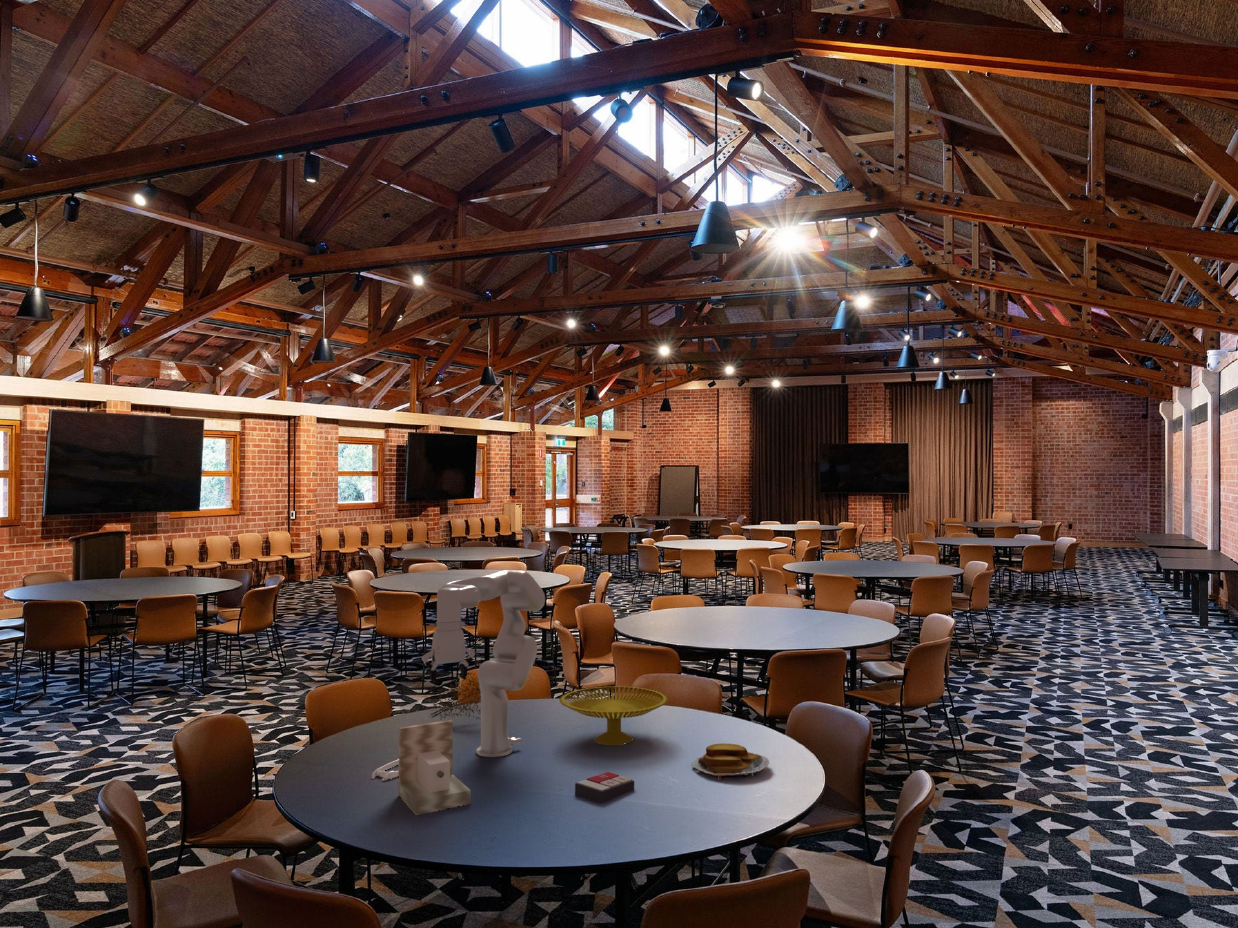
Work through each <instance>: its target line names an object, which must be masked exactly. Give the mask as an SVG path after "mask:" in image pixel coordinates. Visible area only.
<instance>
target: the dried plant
mask: <svg viewBox="0 0 1238 928" xmlns="http://www.w3.org/2000/svg"><path fill="white" fill-rule="evenodd" d="M479 658H480V660H479V659H478V658H477V659H476V660H477V661H475V663H476V666H475V668H474V669H473V670H476V668H477V667H478V666H480V663H481V661H482V660H481V659H483V656H480V657H479ZM476 672H477V671H476ZM476 672H474V673H473V671H469V672H468V671H467V676H470V679H469V678H468V677H466V679H465V680H467V681H468V682H469V683H468V682H465V684H463V682H464V681H465V680H464V679H459V678H458V677H457V681H458V683H457V682H455V685H453V683H452V682H453V681H452V680H451V681H450V682H449V683H450V684H449V687H448V685H446V686H447V690H446V691H445V692H444V691H442V693H441V692H439V693H438V700H437V701H438V702H437V703H432V705H433V706H431V707H429V708H428V709H430V710H428V711H431V712H432V711H434V710H435V711H434V712H432V713H430V714H429V718H435V717H437V716H438V718H439V720H440V721H442V719H444V720H446V717H447V716H448V717H450V718H451V717H452V718H453V717H454V716H455V715H456V716H457V717H458V716H460V717H462V716H463V714H464V713H465V712H466V713H465V714H464V716H466V717H468V718H471V717H472V718H475V720H477V719H478V720H480V721H481V718H480V717H479V716H473V715H471V712H472V713H473V714H475V710H476V712H477V714H478V715H481V708H479V705H478V703H479V702H480V703H481V700H480V699H481V696H480V695H481V692H480V687H479V686H480V685H479V680H478V679H477V678H474V677H475V675H476ZM476 679H477V680H478V682H477V680H476ZM459 685H460V686H459ZM465 685H466V686H465ZM470 686H473V687H472V688H471V689H469V687H470ZM463 687H464V688H463ZM456 691H457V692H456ZM508 691H509V690H506V693H508ZM446 693H447V694H446ZM467 694H468V695H467ZM460 696H464V697H463V698H462V699H460ZM479 696H480V697H479ZM467 698H468V701H467ZM456 699H457V700H456ZM455 700H456V701H455ZM473 703H474V704H473ZM437 705H438V706H437ZM472 705H473V706H472ZM475 707H476V708H475ZM432 708H434V709H432ZM478 708H479V709H478ZM437 709H438V710H437ZM457 710H460V711H459V712H456V711H457ZM453 711H454V713H453ZM461 713H462V714H461Z"/></svg>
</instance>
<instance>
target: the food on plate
mask: <svg viewBox="0 0 1238 928" xmlns="http://www.w3.org/2000/svg"><path fill="white" fill-rule="evenodd" d="M705 752H706V753H705V754H703V756H700V757H697V758H696V759H695V760H694V761H693V760H692V762H691V767H692V768H694V769H697V770H698V771H699V772H700V771H701V772H703V773H705V774H709V775H712V776H715V777H716V776H717V777H718V778H717V780H718V781H721V780H722V777H723V776H726V777H728V776H729V777H730V776H732V777H733V776H742V775H744V776H748V775H749V774H751V775H752V777H754V774H756V773H757V772H760V771H765V770H766V769H767V768H768V766H769V765H770V763H771V762H770V760H769V759H768V758H767V756H765V755H760V754H758V753H754V752H748V750H747V748H746V747H744V746H742V745H740V744H734V743H715V744H714V743H713V744H709V746H708V745H707V746H706V748H705ZM703 768H704V769H703ZM705 769H706V770H705Z"/></svg>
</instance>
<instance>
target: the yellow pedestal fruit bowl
mask: <svg viewBox="0 0 1238 928" xmlns="http://www.w3.org/2000/svg"><path fill="white" fill-rule="evenodd" d="M605 690H606V691H605ZM601 692H602V693H601ZM610 692H611V693H610ZM640 692H641V693H640ZM614 693H615V694H614ZM606 694H607V695H606ZM610 694H611V695H610ZM618 694H619V695H618ZM622 695H623V696H622ZM630 695H631V696H630ZM558 701H559V702H560V704H561V705H562V706H564V707H566V708H568V709H570V710H572V711H575V712H577V713H579V714H580V715H584V716H587V717H592V718H598V719H599V718H601V719H603V718H604V719H606V732H604V733H602V734H600V735H598V736H596V737H595V738H594V741H595V742H596V743H597V744H599V743H601V744H600V745H603V744H604V746H613V745H614V746H622V745H621V744H624V743H628V744H630V743H629V742H630V741H632V739H633V740H634V738H633V736H631V735H629V734H626V733H625V732H623V731H622V718H624V719H626V718H628V719H629V718H633V717H634V718H635V717H639V716H644V715H646V714H648V713H650V712H652V711H654V710H655V711H656V709H659V708H661V707H663V706H665V705H666V704H667V703H668V702H669V697H668V696H667V695H666V694H664V693H662V692H659V691H656V690H653V689H649V688H644V687H635V686H620V685H619V686H618V685H617V686H615V685H614V686H598V687H596V686H595V687H586V688H581V689H577V690H573V691H570V692H567V693H564V694H562V695H561V696H560V698H559V699H558ZM632 742H633V741H632Z"/></svg>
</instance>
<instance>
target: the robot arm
mask: <svg viewBox="0 0 1238 928" xmlns="http://www.w3.org/2000/svg"><path fill="white" fill-rule="evenodd" d="M436 593H437V594H436V630H435V631H434V632H433V635H432V643H431V644H432V645H431V650H430V651H429V652H427V653H425V654H424V655H422V656H421V659H422V662H423V663H424V665H425V666H426V667H427V668H428V669H429V679H430V681H431V683H433V684H437V683H438V682H437V680H438V679H437V678H438V676H437V674H438V672H437V670H436V669H437V667H438V666H439V664H440V665H441V664H442V665H443V664H451V663H452V664H453V663H459V662H460V664H461V666H460V679H461V680H464V681H465V680H467V679H466V678H467V677H468V674H467V673H468V666H469V664H471V662H472V661H473V658H474V656H475V654H476V652H475V651H474V650H472V649H469V648H468V647H466V641H465V636H464V635H465V634H464V631H463V629H462V628H463V627H464V626H466V622H465V621H462V609H473V608H474V607H477V606H478V605H479V604H480V602H483V601H490V600H492V599H496V598H498V597H500V605H501V608H502V609H501V610H502V615H503V622H502V625H501V627H500V631H499V633H498V634H497V636H496V640H495V642H494V644H493V648H492V656H493V658H495V659H490V660H486V661H483V662H482V663H480V665H479V667H478V671H477V680H479V681H478V683H479V685H478V686H479V690H480V692H481V694H480V697H481V698H480V701H481V702H480V709H481V714H480V719H481V720H480V746H478V747H477V748H476V750H475V752H476V754H477V756H480V757H483V758H501V757H504V756H508V755H510V754H512V753H513V752H514V751H513V750H514V749H513V748H514V747H513V746H514V745H520V744H522V738H521V737H518V738H517V737H510V736H509V698H508V695H507V691H520V690H522V689H523V688H524V687H525V685H526V684H527V681H528V679H529V677H530V673H531V671H532V668H533V666H534V664H535V660H536V657H537V652H538V644H537V641H536V639H535V638H534V637H533V636H530V635H526V634H525V632H526V629H527V624H526V621H525V618H524V617H523V615H522V613H521V611H522V612H523V611H525V612H537V611H540V610H541V609H542V608H543V607H544V606H545V602H546V596H545V595H546V594H545V592H544V591H543V589H542V586H540V585H539V583H538V582H537V581H536V580H535V577H533V576H532V575H531V574H530V573H529V572H527V571H525V570H520V569H519V570H517V569H513V570H512V569H502V570H498V571H496V572H491V573H488V574H486V575H481V576H475V577H471V578H464V579H458V580H455V581H450V582H448V583H446V584H443V585H442V586H441V587H440V588H439V589H438V590H437V592H436ZM466 653H467V654H468V657H466ZM429 658H431V663H430V662H429ZM480 692H479V693H480Z"/></svg>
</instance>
